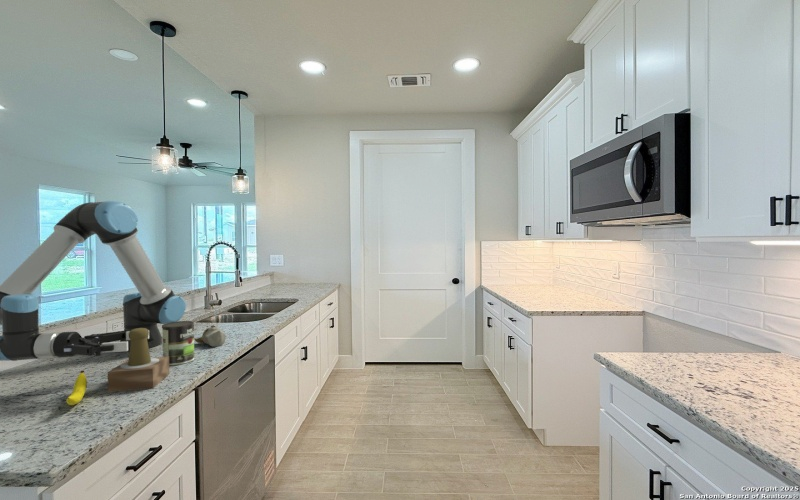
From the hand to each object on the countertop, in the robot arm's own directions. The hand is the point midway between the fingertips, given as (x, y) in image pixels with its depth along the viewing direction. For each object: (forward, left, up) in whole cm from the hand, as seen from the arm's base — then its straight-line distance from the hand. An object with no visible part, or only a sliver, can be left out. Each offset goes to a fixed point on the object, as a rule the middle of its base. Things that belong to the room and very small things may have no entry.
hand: (138, 340), depth 114 cm
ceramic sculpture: (-41, +10, -14) cm, 44 cm away
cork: (0, 0, -7) cm, 8 cm away
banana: (+12, -10, -14) cm, 21 cm away
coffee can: (-20, +4, -14) cm, 25 cm away
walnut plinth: (0, 0, -14) cm, 14 cm away
